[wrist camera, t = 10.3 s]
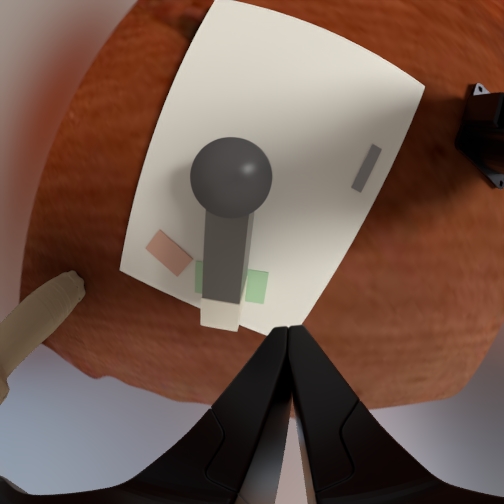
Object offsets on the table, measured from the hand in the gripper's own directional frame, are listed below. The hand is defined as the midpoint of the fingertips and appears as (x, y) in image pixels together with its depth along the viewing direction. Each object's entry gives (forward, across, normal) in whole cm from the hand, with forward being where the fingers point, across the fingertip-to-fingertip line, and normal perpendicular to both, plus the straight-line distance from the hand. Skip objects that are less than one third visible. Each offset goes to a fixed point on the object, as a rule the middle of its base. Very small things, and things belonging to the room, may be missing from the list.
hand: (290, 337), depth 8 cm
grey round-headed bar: (+11, +3, 0) cm, 11 cm away
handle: (+12, +21, +3) cm, 25 cm away
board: (+12, +2, -3) cm, 13 cm away
